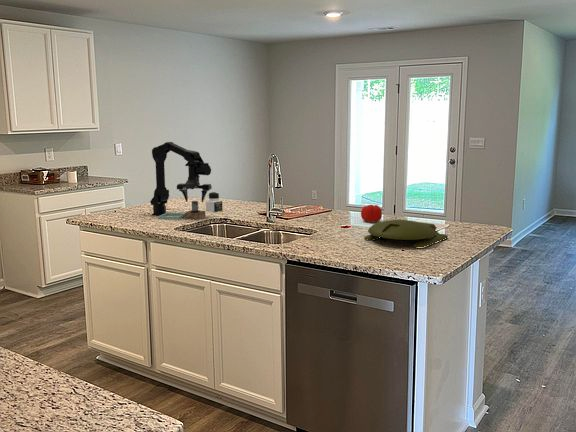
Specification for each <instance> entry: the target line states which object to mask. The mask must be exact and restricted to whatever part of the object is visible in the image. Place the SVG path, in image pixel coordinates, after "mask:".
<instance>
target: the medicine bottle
mask: <svg viewBox="0 0 576 432" xmlns="http://www.w3.org/2000/svg"><path fill="white" fill-rule="evenodd" d="M223 210H224V209H223V200H222V199H220V193H219V192H216V191H214V192H213V191H212V192H209V193H208V199H207V200H206V201H205V212H212V213H217V212H223Z"/></svg>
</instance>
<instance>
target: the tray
mask: <svg viewBox="0 0 576 432" xmlns="http://www.w3.org/2000/svg"><path fill="white" fill-rule="evenodd" d="M185 213H186V212H185ZM185 213H184V212H166V213H164V214H162V215H157V219H158V220H172V221H180V220H182V219H183V218H185Z"/></svg>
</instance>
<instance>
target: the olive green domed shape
mask: <svg viewBox="0 0 576 432" xmlns="http://www.w3.org/2000/svg"><path fill="white" fill-rule="evenodd" d="M367 232H368V233H369V234H368V235H365V236H364V240H365V239H368V240H373V239H376V240H378V239H377V238H379V237H382V238H383V239H388V240H389V239H390V240H403V241H404V240H405V241H407V240H409V241H410V240H411V241H412V240H421V241H419V242H416V243H415V244H413V247H414V246H415V247H424V246H427V245H430V244H432V243H435V242H437V241H440V240H443V239H445V238H447V237H448V238H449V236H448V235H447V234H444V233H439V232H438V231H437V226H436V225H435V224H434V223H427V222H421V221H420V222H419V221H416V220H415V221H414V220H409V219H408V220H406V219H389V220H383V221H378V222H375V223H373V224H372V225H371V226H370V227H369V228H368V230H367ZM448 238H447V239H448ZM379 239H380V238H379ZM422 239H423V240H422ZM445 240H446V239H445ZM373 241H374V240H373ZM443 241H444V240H443ZM440 242H441V241H440Z"/></svg>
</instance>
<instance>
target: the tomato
mask: <svg viewBox="0 0 576 432" xmlns="http://www.w3.org/2000/svg"><path fill="white" fill-rule="evenodd" d="M382 216H383V212H382V208H380V206H379V205H378V204H375V205H373V204H368V205H365V206H363V207H362V208H361V211H360V217H361V219H362V220H363V221H364V222H368V223H369V222H371V223H378V222H380V221H381V220H382Z"/></svg>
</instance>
